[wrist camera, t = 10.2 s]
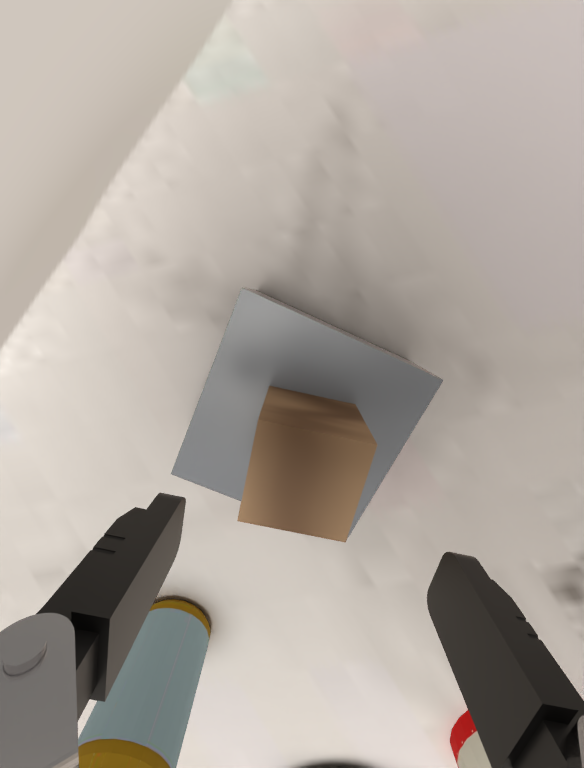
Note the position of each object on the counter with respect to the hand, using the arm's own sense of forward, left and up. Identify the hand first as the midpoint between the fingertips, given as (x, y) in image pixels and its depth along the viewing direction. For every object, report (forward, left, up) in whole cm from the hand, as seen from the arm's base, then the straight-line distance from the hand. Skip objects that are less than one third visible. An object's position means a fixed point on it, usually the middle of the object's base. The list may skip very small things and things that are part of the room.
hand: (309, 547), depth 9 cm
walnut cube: (0, 0, -9) cm, 9 cm away
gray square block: (0, 0, -15) cm, 15 cm away
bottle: (+7, +25, -15) cm, 30 cm away
